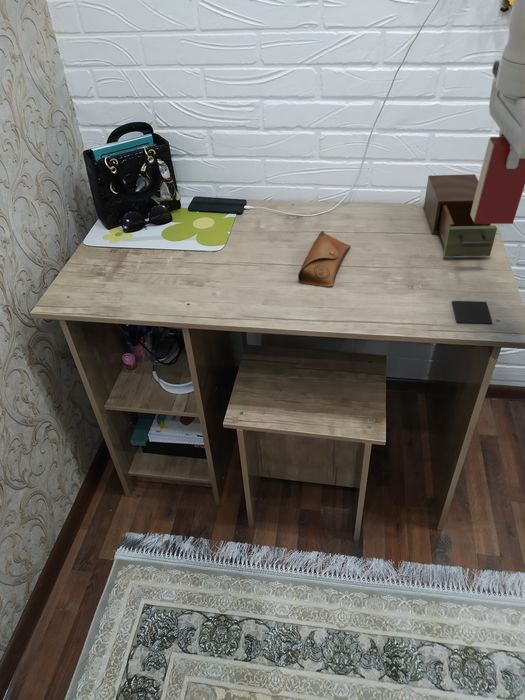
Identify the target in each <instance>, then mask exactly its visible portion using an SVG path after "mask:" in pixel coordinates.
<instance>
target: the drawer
mask: <svg viewBox="0 0 525 700" xmlns="http://www.w3.org/2000/svg"><path fill="white" fill-rule="evenodd" d="M472 206H473V203H472V204H442V207H441V212H440V218H439V224H438V230H439V232H440V238H441V241H442V244H443V247H444V249H443V257H444V258H447V257H448V258H449V257H451V258H452V257H490V256H491V253H492V250H493V246H494V242H495V237H496V234H497V231H498V227H497V225H492V224H474V222H473V220H472V218H471V215H470V213H471V210H472Z"/></svg>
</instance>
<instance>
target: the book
mask: <svg viewBox="0 0 525 700" xmlns="http://www.w3.org/2000/svg"><path fill="white" fill-rule="evenodd" d="M510 150H511V149H510V143H509V142H508V140H507V139H506V137H499V136H490V138H489V139H488V142H487V146H486V150H485V154H484V159H483V162H482V165H481V169H480V174H479V178H478V181H479V182H478V186H477V190H476V194H475V198H474V202H473V206H472V210H471V213H470V215H471V218H472V220H473V222H474V224H491V225H495V224H496V225H507V224H508V225H514V221H515V218H516V214H517V212H518V209H519V205H520V202H521V200H522V199H521V198H522V196H523V192H524V189H525V159H522V158H520V159H519V163H518V166H517V168H515V169H508V168H507V167H506V166H505V159H506V155H509V152H510Z"/></svg>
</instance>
